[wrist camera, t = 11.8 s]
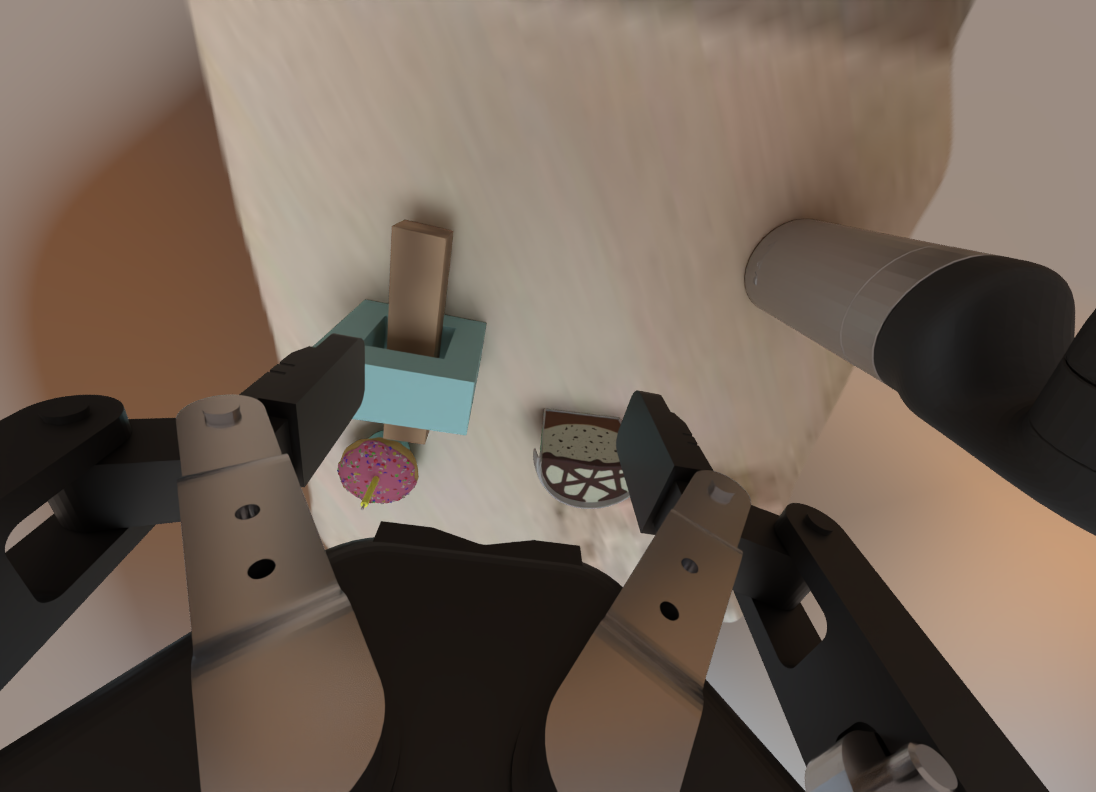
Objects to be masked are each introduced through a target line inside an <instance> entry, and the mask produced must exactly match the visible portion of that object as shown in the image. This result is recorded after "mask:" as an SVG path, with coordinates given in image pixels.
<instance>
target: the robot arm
mask: <svg viewBox="0 0 1096 792" xmlns="http://www.w3.org/2000/svg"><path fill="white" fill-rule="evenodd" d="M745 287H746V291H747V294H748V296H749V298H750V299H751V301H752V302H753V303H754V304H755V305H756V306H757V307H759V308H760V309H762V310H764V311H765V312H767V313H769V314H770V315H772V316H774V317H775V318H777V319H778V320H780V321H782V322H783V323H785V324H786V325H788V326H790V327H791V328H793V329H795V330H796V331H798V332H800V333H801V334H803V335H805V336H806V337H808V338H810V339H811V340H813V341H815V342H816V343H818V344H819V345H821V346H823V347H824V348H826V349H828V350H829V351H831V352H833V353H834V354H836V355H838V356H839V357H841V358H843V359H844V360H846V361H848V362H849V363H851V364H852V365H854V366H856V367H858V368H860V369H861V370H863V371H864V372H867V373H868V374H870V375H871V376H873V377H874V378H876V379H878V380H879V381H881V382H883V383H884V384H886V385H888V386H889V387H891V388H892V389H894V390H896V391H897V392H898V393H899V395H900V397H901V399H902V400H903V402H904V403H905V404H906V406H907V407H908V408H909V409H910V410H911V411H912V412H913V413H914V414H915V415H917V416H918V417H919V418H921V419H922V420H924V421H925V422H926V423H928V424H929V425H931V426H932V427H934V428H935V429H936V430H938V431H939V432H941V433H942V434H943V435H945V436H946V437H947V438H949V439H950V440H952V441H953V442H955V443H956V444H957V445H959V446H960V447H961V448H963V449H964V450H966V451H967V452H968V453H970V454H971V455H972V456H974V457H975V458H977V459H978V460H979V461H981V462H982V463H983V464H985V465H986V466H988V467H989V468H990V469H992V470H993V471H994V472H996V473H997V474H998V475H1000V476H1001V477H1003V478H1004V479H1005V480H1007V481H1008V482H1010V483H1011V484H1013V485H1014V486H1015V487H1017V488H1018V489H1020V490H1021V491H1023V492H1024V493H1026V494H1027V495H1029V496H1030V497H1031V498H1033V499H1034V500H1036V501H1037V502H1039V503H1040V504H1042V505H1044V506H1045V507H1047V508H1048V509H1050V510H1052V511H1053V512H1055V513H1057V514H1058V515H1060V516H1061V517H1063V518H1065V519H1066V520H1068V521H1070V522H1071V523H1073V524H1075V525H1077V526H1079V527H1080V528H1082V529H1084V530H1086V531H1088V532H1090V533H1092V534H1094V535H1096V309H1095V310H1094V312H1093V313H1092V314H1091V315H1090V317H1089V318H1088V319H1087V321H1086V322H1085V324H1084V325H1083V326H1082V328H1081V329H1080V331H1079V332H1078V334H1077V335H1076V337H1075V338H1074V331H1075V304H1074V299H1073V295H1072V292H1071V290H1070V288H1069V286H1068V284H1067V282H1066V281H1065V280H1064V279H1063V278H1062V277H1061V276H1060V275H1059V274H1058V273H1056V272H1055V271H1053V270H1051V269H1049V268H1047V267H1045V266H1042V265H1039V264H1036V263H1033V262H1029V261H1024V260H1018V259H1014V258H1009V257H1004V256H998V255H993V254H987V253H982V252H977V251H972V250H967V249H962V248H957V247H950V246H945V245H940V244H935V243H930V242H925V241H920V240H915V239H909V238H904V237H899V236H894V235H889V234H884V233H879V232H874V231H869V230H864V229H858V228H853V227H848V226H844V225H839V224H834V223H829V222H824V221H819V220H814V219H799V220H794V221H790V222H788V223H785V224H783V225H781V226H779V227H778V228H776V229H775V230H773V231H772V232H770V233H769V234H768V235H767V236H766V237H765V238H764V239H763V240H762V241H761V242H760V244H759V245H758V246H757V247H756V249H755V250H754V252H753V254H752V256H751V257H750V260H749V263H748V265H747V268H746V274H745ZM364 392H365V344H364V341H363V339H362V338H357V337H352V336H346V335H341V334H336V333H332V334H331V335H330V336H328V337H327V338H326V339H325V340H324V341H323V342H321V343H320V344H319V345H318V346H317V347H310V346H309V347H306V348H303V349H301V350H298V351H295V352H292V353H291V354H289V355H288V356H287V357H286V358H284V359H283V360H282V361H281V362H280V364H277V365H276V366H274V367H273V368H272V369H271V370H270V372H267V373H266V374H264V375H263V376H262V377H261V378H259V379H258V380H257V381H256V382H254V383H253V384H252V385H251V386H250V387H248V388H247V389H246V390H245V391H243V392H242V393H241V394H239V395H219V396H213V397H209V398H204V399H201V400H198V401H195V402H193V403H191V404H189V405H187V406H186V407H185V408H183V409H182V410H181V411H180V412H179V413H178V415H177V417H176V418H155V419H128V417H127V414H126V411H125V409H124V406H123V404H122V403H121V402H120V401H119V400H117V399H115V398H111V397H108V396H102V395H74V396H65V397H60V398H54V399H50V400H46V401H43V402H39V403H36V404H33V405H31V406H28V407H26V408H24V409H22V410H19V411H18V412H16V413H14V414H12V415H10V416H8V417H6V418H4V419H2V420H1V421H0V691H1V689H3V687H4V686H5V685H6V684H7V683H8V682H9V681H10V680H11V679H12V678H13V677H14V676H15V675H16V674H17V673H18V671H19V670H20V669H21V668H22V667H23V666H24V665H25V664H26V663H27V662H28V661H29V660H30V659H31V657H33V655H34V654H35V653H36V652H37V651H38V650H39V649H40V648H41V647H42V646H43V645H44V644H45V643H46V641H47V640H48V639H49V638H50V637H51V636H52V635H53V634H54V633H55V632H56V631H57V630H58V629H59V628H60V627H61V625H62V624H63V623H64V622H65V621H66V620H67V619H68V618H69V617H70V616H71V615H72V614H73V613H74V612H75V610H76V609H77V608H78V607H79V606H80V605H81V604H82V603H83V602H84V601H85V600H86V599H87V598H88V596H89V595H90V594H91V593H92V592H93V591H94V590H95V589H96V588H97V587H98V586H99V585H100V584H101V583H102V582H103V581H104V579H105V578H106V577H107V576H108V575H109V574H110V573H111V572H112V571H113V570H114V569H115V568H116V567H117V566H118V564H119V563H120V562H121V561H122V560H123V559H124V558H125V557H126V556H127V555H128V553H130V551H132V550H133V548H134V547H135V546H136V545H137V544H138V543H139V542H140V541H141V540H142V539H143V537H145V536H146V535H147V533H148V532H149V531H150V530H151V529H152V528H153V527H154V526H155V525H156V524H162V523H172V522H181V529H182V539H183V549H184V560H185V570H186V580H187V591H188V601H189V611H190V621H191V632H189V633H188V634H186V635H185V636H183V637H181V638H180V639H178V640H177V641H175V642H173V643H172V644H170V645H168V646H167V647H165V648H164V649H162V650H161V651H159V652H157V653H156V654H154V655H153V656H151V657H149V658H148V659H146V660H144V661H143V662H141V663H140V664H138V665H136V666H135V667H133V668H132V669H130V670H128V671H127V672H125V673H124V674H122V675H121V676H119V677H117V678H115V679H114V680H112V681H111V682H109V683H107V684H106V685H104V686H103V687H101V688H99V689H98V690H96V691H95V692H93V693H91V694H90V695H88V696H87V697H85V698H84V699H82V700H80V701H79V702H77V703H75V704H74V705H72V706H70V707H69V708H67V709H66V710H64V711H62V712H61V713H59V714H58V715H56V716H54V717H53V718H51V719H50V720H48V721H46V722H45V723H43V724H42V725H40V726H38V727H37V728H35V729H34V730H32V731H30V732H29V733H27V734H26V735H24V736H22V737H21V738H19V739H17V740H16V741H14V742H13V743H11V744H9V745H8V746H6V747H5V748H3V749H1V750H0V792H1049V791H1048V789H1047V788H1046V787H1045V786H1044V784H1043V783H1042V782H1041V780H1040V779H1039V778H1038V777H1037V775H1036V774H1035V773H1034V772H1033V770H1032V769H1031V768H1030V767H1029V765H1028V764H1027V763H1026V761H1025V760H1024V759H1023V758H1022V756H1021V755H1020V754H1019V752H1018V751H1017V750H1016V749H1015V747H1014V746H1013V745H1012V744H1011V742H1010V741H1009V740H1008V739H1007V737H1006V736H1005V735H1004V733H1003V732H1002V731H1001V730H1000V728H999V727H998V726H997V725H996V724H995V722H994V721H993V719H992V718H991V717H990V716H989V714H988V713H987V712H986V711H985V709H984V708H983V707H982V706H981V704H980V703H979V702H978V700H977V699H976V698H975V697H974V695H973V694H972V693H971V691H970V690H969V689H968V688H967V686H966V685H965V684H964V683H963V681H962V680H961V679H960V677H959V676H958V675H957V674H956V672H955V671H954V670H953V669H952V667H951V666H950V665H949V663H948V662H947V661H946V660H945V658H944V657H943V656H942V655H941V653H940V652H939V651H938V650H937V648H936V647H935V646H934V644H933V643H932V642H931V641H930V639H929V638H928V637H927V636H926V634H925V633H924V632H923V630H922V629H921V628H920V627H919V625H918V624H917V623H916V622H915V620H914V619H913V618H912V616H911V615H910V614H909V613H908V611H907V610H906V609H905V608H904V606H903V605H902V604H901V602H900V601H899V600H898V599H897V597H896V596H895V595H894V594H893V592H892V591H891V590H890V589H889V587H888V586H887V585H886V583H885V582H884V581H883V580H882V578H881V577H880V576H879V574H878V573H877V572H876V571H875V569H874V568H873V567H872V566H871V565H870V563H869V562H868V560H867V559H866V558H865V557H864V555H863V554H862V553H861V552H860V550H859V549H858V548H857V547H856V545H855V544H854V543H853V541H852V540H851V539H850V538H849V536H848V535H847V534H846V533H845V531H844V530H843V529H842V528H841V527H840V526H839V525H838V524H837V523H836V522H835V521H834V520H833V519H831V518H830V517H828V516H827V515H826V514H824V513H822V512H821V511H819V510H817V509H815V508H813V507H810V506H808V505H804V504H800V503H791V504H789V505H787V507H786V508H785V509H784V511H783V512H782V514H781V515H780V516H779V515H776V514H774V513H771V512H768V511H766V510H763V509H760V508H758V507H755V506H753V505H751V499H750V497H749V495H748V493H747V492H746V491H745V490H744V489H743V488H742V486H740V485H739V484H738V483H737V482H735V481H734V480H733V479H731V478H729V477H728V476H726V475H723V474H721V473H718V472H715V471H713V469H712V467H711V466H710V464H709V462H708V461H707V459H706V457H705V455H704V454H703V452H702V450H701V449H700V447H699V446H697V442H696V440H695V438H694V437H692V433H691V432H690V430H689V428H688V427H687V425H686V423H685V422H683V421H682V420H681V419H680V418H679V417H678V416H677V415H676V414H675V413H672V412H670V410H669V408H668V407H667V405H666V403H665V401H664V399H663V398H662V396H661V395H659V394H654V393H648V392H643V391H638V390H637V391H635V392H634V393H633V395H632V397H631V399H630V402H629V404H628V407H627V410H626V412H625V415H624V417H623V420H622V423H621V425H620V428H619V430H618V434H617V439H616V450H617V454H618V457H619V461H620V464H621V468H622V471H623V474H624V478H625V481H626V485H627V488H628V491H629V495H630V498H631V501H632V505H633V508H634V512H635V515H636V518H637V522H638V525H639V529H640V532H641V533H645V534H652V535H655V536H654V538H653V540H652V541H651V543H650V545H649V546H648V548H647V549H646V551H645V553H644V554H643V556H642V557H641V559H640V561H639V562H638V564H637V566H636V567H635V569H634V570H633V572H632V574H631V575H630V577H629V579H628V580H627V582H626V583H625V585H624V587H622V586H621V585H620V584H619V583H618V582H616V581H615V580H614V579H612V578H611V577H610V576H608V575H607V574H605V573H603V572H602V571H600V570H598V569H597V568H594V567H592V566H590V565H588V564H586V563H583V562H582V558H581V550H580V546H577V545H569V544H561V543H553V542H544V541H536V540H530V541H520V542H510V543H501V544H491V545H482V544H478V543H475V542H472V541H469V540H466V539H464V538H461V537H458V536H455V535H452V534H449V533H447V532H444V531H441V530H438V529H435V528H432V527H424V526H416V525H408V524H399V523H391V522H383V521H381V523H380V525H379V528H378V530H377V533H376V535H375V537H373V538H365V539H360V540H354V541H350V542H347V543H343V544H340V545H337V546H335V547H332V548H329V549H327V550H325V549H324V546H323V544H322V541H321V538H320V536H319V533H318V531H317V528H316V525H315V523H314V520H313V518H312V515H311V512H310V510H309V507H308V504H307V502H306V499H305V497H304V494H303V492H302V489H301V487H305V486H306V485H307V483H308V482H309V480H310V479H311V477H312V476H313V474H314V473H315V472H316V470H317V469H318V467H319V466H320V464H321V463H322V461H323V460H324V459H325V457H326V456H327V454H328V453H329V451H330V450H331V448H332V447H333V446H334V444H335V443H336V441H337V440H338V438H339V437H340V435H341V434H342V433H343V431H344V430H345V428H346V427H347V425H348V424H349V422H350V421H351V420H352V418H353V417H354V415H355V414H356V412H357V411H358V409H359V408H360V406H361V404H362V401H363V397H364ZM47 501H48V503H49V505H50V506H51V508H52V510H53V512H54V514H53V515H52V516H50V517H49V518H48V519H47V520H46V521H44V522H43V523H42V524H41V525H39V526H38V527H37V528H36V529H34V530H33V531H32V532H31V533H29V534H28V535H27V536H26V537H24V538H23V539H22V540H21V541H19V542H18V543H17V544H16V545H15V546H13V547H12V548H11V549H9V550H8V551H7V552H6V553H5V544H6V541H7V539H8V536H9V535H10V533H11V532H12V530H13V529H14V528H15V527H16V526H17V524H19V523H20V522H21V521H22V520H23V519H25V518H26V517H27V516H29V515H30V514H31V513H33V512H34V511H35V510H36V509H38V508H39V507H40V506H42V505H43V504H44V503H46V502H47ZM732 590H734V593H735V596H736V598H737V600H738V603H739V605H740V608H741V610H742V613H743V615H744V617H745V620H746V622H747V625H748V627H749V630H750V632H751V634H752V637H753V639H754V642H755V644H756V646H757V649H758V651H759V654H760V656H761V658H762V661H763V663H764V666H765V668H766V670H767V673H768V675H769V678H770V680H771V683H772V685H773V688H774V690H775V692H776V695H777V697H778V700H779V702H780V704H781V707H782V709H783V712H784V714H785V716H786V719H787V721H788V724H789V726H790V729H791V731H792V733H793V736H794V738H795V741H796V743H797V746H798V748H799V750H800V753H801V755H802V758H803V760H804V762H805V765H806V767H807V768H806V771H805V788H806V791H805V790H804V789H803V788H802V787H801V786H800V785H799V784H798V783H797V781H796V780H795V779H794V778H793V777H792V776H791V775H790V773H789V772H788V771H787V770H786V769H785V768H784V767H783V766H782V764H780V762H779V761H778V760H777V759H776V758H775V757H774V756H773V754H772V753H771V752H770V751H769V750H768V749H767V748H766V747H765V745H763V743H762V742H761V741H760V740H759V739H758V738H757V736H756V735H755V734H754V733H753V732H752V731H751V730H750V729H749V727H748V726H747V725H746V724H745V723H744V722H743V721H742V720H741V719H740V717H739V716H738V715H737V714H736V713H735V712H734V711H733V709H732V708H731V707H730V706H729V705H728V704H727V703H726V702H725V701H724V699H723V698H722V697H721V696H720V695H719V694H718V693H717V691H716V690H715V689H714V688H713V687H712V686H711V685H710V684H709V682H708V681H706V675H707V672H708V669H709V665H710V662H711V658H712V655H713V652H714V649H715V645H716V642H717V639H718V635H719V632H720V629H721V625H722V622H723V619H724V615H725V612H726V609H727V605H728V602H729V599H730V595H731V592H732ZM810 591H811V592H812V594H813V596H814V597H815V599H816V600H817V602H818V604H819V605H820V607H821V609H822V611H823V613H824V615H825V617H826V621H827V633H826V636H825V638H824V639H823V641H822V640H821V639H820V637H819V635H818V633H817V632H816V630H815V628H814V626H813V624H812V622H811V621H810V619H809V617H808V615H807V613H806V612H805V610H804V608H803V606H802V605H801V603H800V602H801V601H802V599H803V598H804V597H805V596H806V595H807V594H808V593H809V592H810Z"/></svg>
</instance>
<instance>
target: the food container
mask: <svg viewBox="0 0 1096 792" xmlns="http://www.w3.org/2000/svg"><path fill="white" fill-rule="evenodd" d="M621 423H622V421H621V420H620V418H618V417H609V416H601V415H593V414H585V413H577V412H569V411H561V410H553V409H545V408H544V414H543V424H542V435H541V446H540V457H538V454H537V452H536V449H534V452H533V460H534V466H535V469H536V472H537V475H538V477H539V480H540V481H541V483H542V485H543V486H544V488H545V489H546V490H547V491H548V493H549V494H550V495H551V496H553V497H554V498H555V499H557V500H558V501H560V502H562V503H564V504H566V505H569V506H572V507H576V508H583V509H595V508H603V507H608V506H611V505H614V504H617V503H619V502H622V501H624V500H626V499H627V498H629V497H630V495H629V491H628V488H627V485H626V481H625V478H624V474H623V471H622V468H621V464H620V461H619V457H618V454H617V450H616V439H617V434H618V430H619V428H620V425H621Z"/></svg>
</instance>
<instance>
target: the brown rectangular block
mask: <svg viewBox="0 0 1096 792" xmlns="http://www.w3.org/2000/svg"><path fill="white" fill-rule="evenodd" d="M452 239H453V231H451V230H447V229H443V228H439V227H434V226H430V225H426V224H422V223H417V222H413V221H409V220H403V221H401V222H399V223H397V224H395V225H393V226H392V236H391V261H390V286H389V311H388V335H387V349H389V350H394V351H400V352H406V353H411V354H417V355H423V356H428V357H434V358H439V356H440V347H441V338H442V329H443V320H444V311H445V302H446V293H447V284H448V275H449V266H450V257H451V248H452ZM428 433H429V430H426V429H419V428H412V427H405V426H398V425H392V424H385V423H384V434H383V439H390V440H397V441H404V442H411V443H418V444H425V442H426V439H427V436H428Z"/></svg>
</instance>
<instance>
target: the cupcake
mask: <svg viewBox="0 0 1096 792" xmlns="http://www.w3.org/2000/svg"><path fill="white" fill-rule="evenodd" d="M383 434H384V431H380V432H377V433H375V434H373V435H372V436H371V437H370V438H368V439H360V440H358V441H356V442H355V443H353V444H351V445H350V446H348V447H347V448H346V449H345V451H344V453H343V455H342V458H341V461H340V462H339V463H338V470H337V471H338V472H339V473H338V475H339V476H340V480H341V482H342V484H343V487H344V488H346V490H348V491H349V492H351V493H352V494H353V495H355V496H356V497H358V498H360V499H361V500H362V502H361V506H362V508H361V510H363V509H364V507H367V506H368V503H380V504H384V503H389V502H390V503H392V502H394V501H398V500H400V499H402V498H405V497H404V496H406V495H409V492H410V491H411V490H412V489H413V488H415V485H416V483H417V480H418V467H417V463H416V460H415V457H414V455H413V454H412V452H411V451H410V447H409V443H408V442H404V441H397V440H390V439H383Z"/></svg>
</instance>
